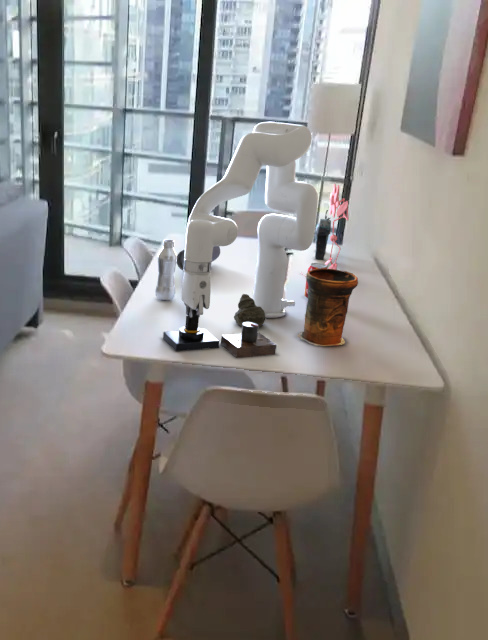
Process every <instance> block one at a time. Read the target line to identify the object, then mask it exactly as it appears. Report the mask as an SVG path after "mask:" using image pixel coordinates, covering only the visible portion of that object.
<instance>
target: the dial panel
mask: <svg viewBox="0 0 488 640" xmlns="http://www.w3.org/2000/svg"><path fill="white" fill-rule="evenodd" d="M220 346H221V347H222V348H223V349H224V350H226V351H227V352H228V353H229V354H231V355H232V356H233V357H235V358H237V359H238V358H250V357H251V358H253V357H265V356H276V351H277V343H275V342H274V341H272V340H271V339H269V338H268V337H266V336H265V335H264V334H262V333H261V332H258V335H257V341H256V342H245V341H242V340H241V333H234V334H232V333H231V334H222V335H221V337H220Z"/></svg>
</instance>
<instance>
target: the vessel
mask: <svg viewBox="0 0 488 640" xmlns="http://www.w3.org/2000/svg"><path fill="white" fill-rule="evenodd" d="M327 268H328V267H327ZM327 268H321V269H313V270H311V271H308V270H307V272H306V275H305V281H306V280H307V283H308V299H307V302H306V305H305V306H306V307H305V313H304V324H303V331H301V332H300V333H298V334H297V335H296V337H298V338H299V339H300V340H301V341H304V342H306V343H309V345H313V346H315V347H318V346H321V347H333V346H344V345H345V343H346V341H345V339H344V338H343V331H344V326H345V324H346V319H347V314H348V310H349V301H350V298H351V295H352V293H353V291H354V289H356V288H357V287H358V284H359V279H358V276H357V275H356V274H354V273H353V272H351V271H346V270H344V271H343V270H339V269H337V270H335V269H329V268H328V269H327Z"/></svg>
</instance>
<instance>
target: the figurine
mask: <svg viewBox="0 0 488 640" xmlns="http://www.w3.org/2000/svg"><path fill="white" fill-rule="evenodd" d="M329 194H330V195H329V209H328V213H329V216H331V215H332V218H333V221H332V234H331V235H330V237H329V241H330V242H332V245H331V250H330V254H329V259H328V260H327V261H326V262H325V263H324V264H326V265H327V266H328V265H329V264H330V266H328V269H335V270H338V264H337V260H338V257H339V254H340V251H341V247H340V245H339V244H338V243H337V242H336V241H337V240H338V236H337V235H336V234H335V222H336V221H338V220H341V219H342V218H343V219H345V221H348V222H349V220H350V219H349V200H346V198H344V197H343V198H341V199H340V197H339V196H340V185H339V184H336V183H333V187H332V192H331V193H329ZM341 203H342V204H341ZM345 212H346V213H345ZM335 217H336V219H335ZM334 244H335V245H336V246H337V248H339V249H338V252H337V254H336V258H335V260H334V263H333V261H332V260H333V259H334V258H333V257H332V253H333V248H334ZM300 274H301V275H303V276H304V274H303V273H302V272H300Z"/></svg>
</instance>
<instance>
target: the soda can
mask: <svg viewBox="0 0 488 640" xmlns="http://www.w3.org/2000/svg"><path fill="white" fill-rule="evenodd" d="M321 268H327V269H329V266H328V264H327V265H326V264H325V263H321V262H312V263H311V262H310V265H309V267H308V269H307V272H308V271H311V270H313V269H321ZM304 286H305V287H304V293H303V294H304V297H305V298H306V299H307V300H308V283H307V280H306V279H305V285H304Z"/></svg>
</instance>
